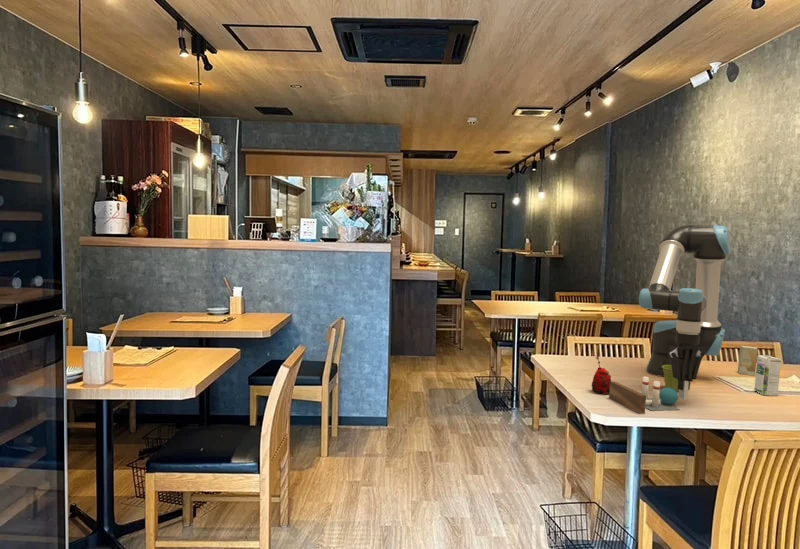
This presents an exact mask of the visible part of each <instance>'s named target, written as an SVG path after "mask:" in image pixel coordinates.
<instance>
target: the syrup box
mask: <svg viewBox="0 0 800 549" xmlns="http://www.w3.org/2000/svg"><path fill="white" fill-rule="evenodd" d="M781 364H782V359H781V358H777V357H773V356H771V355H763V354H762V355H757V361H756V370H755V378H754V379H755V380H754V389H753V391H754V390H755V391H757V392H758V393H757V392H756V393H757V394H759V393H760V394H759V395H762V396H764V395H769V397H773V396H774V397H777V396H778V394H779V384H780V375H781V374H780V373H781V366H782V365H781Z"/></svg>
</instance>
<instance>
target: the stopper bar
mask: <svg viewBox="0 0 800 549" xmlns="http://www.w3.org/2000/svg"><path fill="white" fill-rule="evenodd" d="M608 398H609V399H611V400H613V401H614V402H616V403H618V404H620V405H622V406H624V407H626V408H627V409H630V410H631V411H634V412H636V413H638V414H639V415H641V414H646V408H645V405H646V395H644V394H642V392H639V391H637V390H635V389H633V388H630V387H629V386H626V385H624V384H622V383H620V382H618V381H616V380H615V381H613V380H611V381H610V392H609V396H608Z"/></svg>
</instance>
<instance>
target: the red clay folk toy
mask: <svg viewBox="0 0 800 549" xmlns="http://www.w3.org/2000/svg"><path fill="white" fill-rule="evenodd" d="M595 354H596V356H595V357H596V358H595V359H596V360H597V361H598V362H597V364H598V367H597V370H596V371H595V372H594V375H593V378H592V382H591V391H594V393H596V394H599V395H601V394H602V395H608V394H609V392H610V381H612V376H611V375H610V373H609V371H608V370H607V369H605V367H602V366H601V365H600V364H601V361H600V358H599V356H601V353H600V354H598V352H595Z"/></svg>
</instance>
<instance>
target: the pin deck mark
mask: <svg viewBox="0 0 800 549" xmlns="http://www.w3.org/2000/svg"><path fill="white" fill-rule="evenodd" d="M652 398H653V397H651V398H648V400H652ZM660 402H661V405H658V408H654V407H652V406H645V410H649V411H650V412H655V411H656V412H657V411H658V412H659V411H662V412H663V411H664V410H665V411H666V410H667V411H681V410H680V408H677V407H676V406H673V405H666V404H664V403H663V402H662V401H661V400H660Z"/></svg>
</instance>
